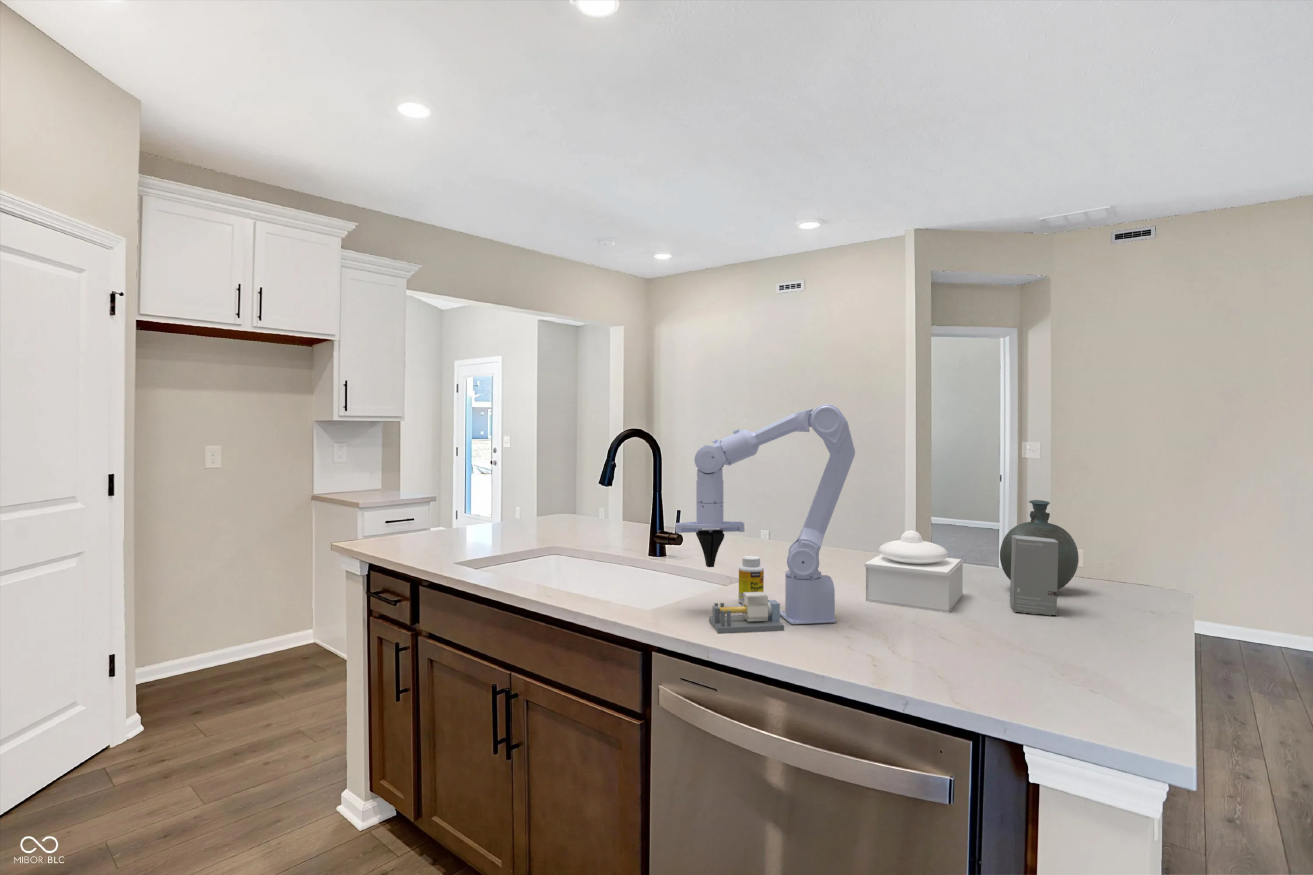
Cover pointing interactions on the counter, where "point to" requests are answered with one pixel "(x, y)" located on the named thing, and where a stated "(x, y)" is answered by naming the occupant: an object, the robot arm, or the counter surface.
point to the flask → (1043, 530)
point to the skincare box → (1034, 575)
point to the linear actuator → (740, 623)
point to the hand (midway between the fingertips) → (709, 566)
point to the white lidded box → (914, 575)
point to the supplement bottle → (750, 576)
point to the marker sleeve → (755, 606)
